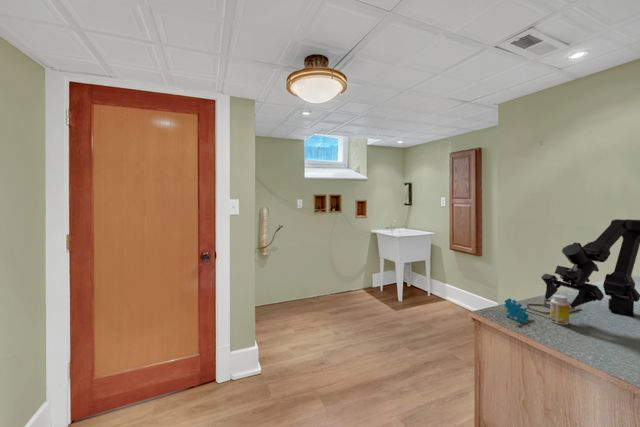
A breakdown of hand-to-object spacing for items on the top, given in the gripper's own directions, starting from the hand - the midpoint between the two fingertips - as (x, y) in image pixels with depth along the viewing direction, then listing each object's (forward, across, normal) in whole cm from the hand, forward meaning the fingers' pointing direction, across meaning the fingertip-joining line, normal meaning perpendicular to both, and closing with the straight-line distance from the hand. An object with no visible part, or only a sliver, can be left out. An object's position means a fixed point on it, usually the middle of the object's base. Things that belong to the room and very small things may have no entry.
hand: (558, 302), depth 107 cm
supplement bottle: (+5, 0, +6) cm, 8 cm away
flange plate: (-2, -11, +13) cm, 17 cm away
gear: (+14, -6, -3) cm, 16 cm away
